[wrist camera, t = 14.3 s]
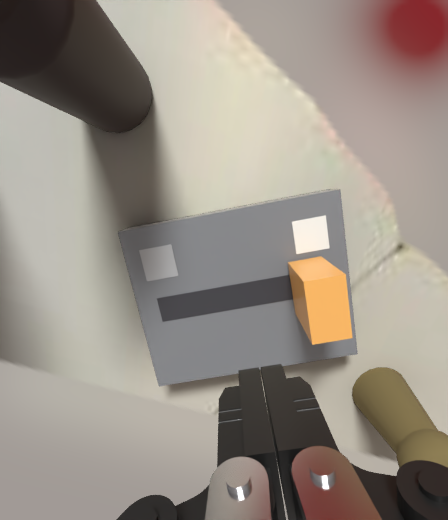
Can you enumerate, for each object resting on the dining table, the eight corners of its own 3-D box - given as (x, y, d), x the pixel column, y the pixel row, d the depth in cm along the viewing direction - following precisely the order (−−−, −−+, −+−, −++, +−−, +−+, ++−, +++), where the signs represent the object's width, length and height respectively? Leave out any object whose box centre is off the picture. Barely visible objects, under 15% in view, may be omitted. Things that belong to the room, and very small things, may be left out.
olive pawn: (387, 422, 36) (456, 523, 25) (341, 401, 35) (392, 496, 24) (417, 380, 34) (503, 468, 24) (370, 358, 34) (437, 437, 23)
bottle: (62, 89, 28) (-308, -134, 9) (115, 34, 27) (-171, -362, 8) (115, 149, 29) (-109, 71, 10) (168, 98, 28) (35, -104, 9)
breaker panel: (164, 369, 34) (158, 386, 31) (127, 227, 31) (117, 231, 28) (346, 339, 33) (357, 354, 30) (329, 189, 30) (340, 189, 27)
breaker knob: (295, 313, 29) (312, 344, 23) (287, 262, 28) (303, 281, 22) (327, 307, 29) (352, 338, 23) (321, 256, 28) (345, 274, 22)
